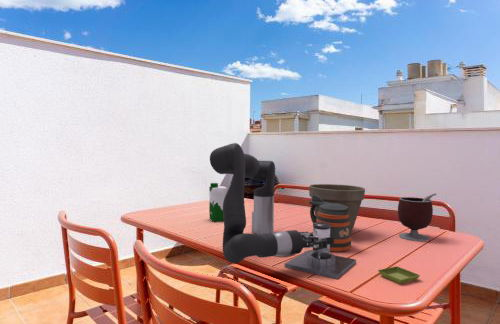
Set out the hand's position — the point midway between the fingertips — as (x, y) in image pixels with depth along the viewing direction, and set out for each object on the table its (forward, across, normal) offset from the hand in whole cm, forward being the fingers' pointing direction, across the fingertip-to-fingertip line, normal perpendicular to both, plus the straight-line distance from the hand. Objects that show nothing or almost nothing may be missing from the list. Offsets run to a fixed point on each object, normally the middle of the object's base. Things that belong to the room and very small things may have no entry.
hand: (327, 237), depth 117 cm
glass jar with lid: (-3, 0, +6) cm, 7 cm away
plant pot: (+31, +33, +9) cm, 46 cm away
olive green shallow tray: (+12, -19, +9) cm, 25 cm away
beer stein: (+14, +18, +9) cm, 24 cm away
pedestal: (-8, +18, +9) cm, 21 cm away
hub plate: (-2, 0, +9) cm, 9 cm away
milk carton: (-10, +80, +9) cm, 81 cm away
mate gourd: (+58, +12, +9) cm, 60 cm away
